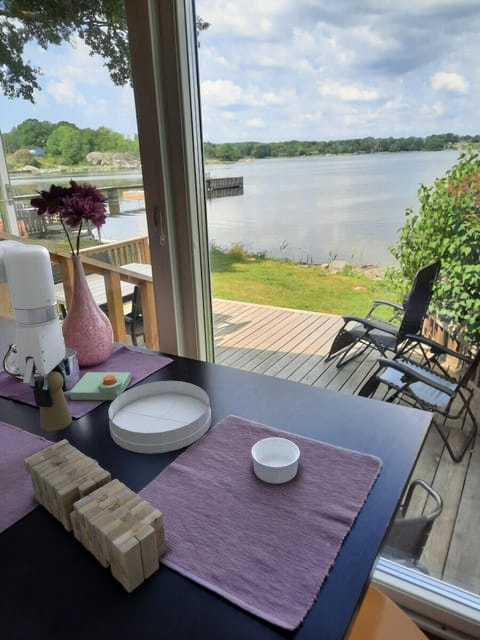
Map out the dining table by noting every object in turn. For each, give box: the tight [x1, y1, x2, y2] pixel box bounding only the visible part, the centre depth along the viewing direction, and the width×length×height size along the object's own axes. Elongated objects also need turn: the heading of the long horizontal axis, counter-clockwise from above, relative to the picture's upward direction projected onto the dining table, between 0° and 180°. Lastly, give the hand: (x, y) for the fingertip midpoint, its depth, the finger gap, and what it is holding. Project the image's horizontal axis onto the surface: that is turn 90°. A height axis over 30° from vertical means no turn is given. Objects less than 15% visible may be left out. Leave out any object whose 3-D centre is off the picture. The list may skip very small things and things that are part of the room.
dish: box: [108, 380, 212, 454], centre depth 97 cm, size 22×22×5 cm
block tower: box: [23, 438, 167, 593], centre depth 70 cm, size 8×8×29 cm
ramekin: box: [250, 437, 301, 485], centre depth 81 cm, size 9×9×4 cm
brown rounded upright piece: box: [37, 371, 73, 432], centre depth 88 cm, size 6×6×11 cm
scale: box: [69, 371, 132, 401], centre depth 112 cm, size 12×11×4 cm
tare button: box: [103, 375, 116, 385], centre depth 109 cm, size 3×3×2 cm
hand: (52, 397), depth 88 cm, fingers closed on brown rounded upright piece, 5 cm apart
